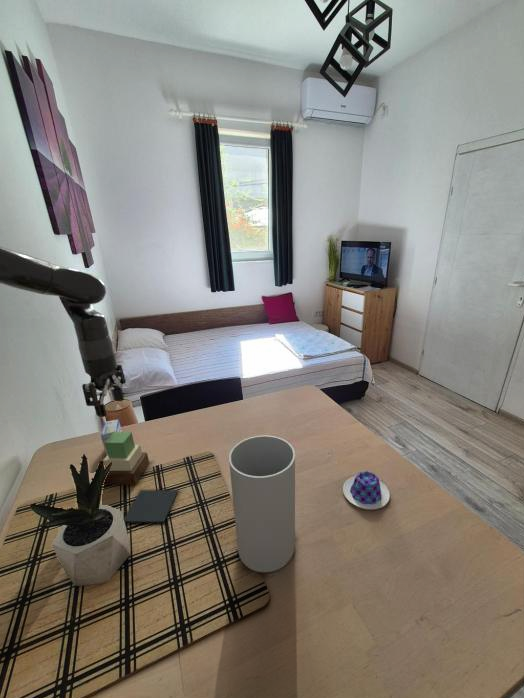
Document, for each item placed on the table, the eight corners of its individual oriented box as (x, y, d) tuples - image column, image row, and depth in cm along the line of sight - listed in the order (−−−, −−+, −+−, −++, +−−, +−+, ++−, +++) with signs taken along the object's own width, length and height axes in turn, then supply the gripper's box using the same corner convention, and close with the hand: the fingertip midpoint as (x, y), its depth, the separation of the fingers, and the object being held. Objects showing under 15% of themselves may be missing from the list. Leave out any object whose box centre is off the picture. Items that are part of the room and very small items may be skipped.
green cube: (108, 457, 88) (104, 442, 86) (117, 446, 93) (114, 431, 91) (126, 458, 88) (122, 442, 86) (135, 446, 93) (131, 432, 91)
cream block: (105, 470, 89) (102, 460, 87) (118, 454, 95) (116, 444, 94) (131, 470, 89) (128, 460, 87) (142, 454, 95) (140, 444, 94)
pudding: (333, 486, 88) (334, 471, 86) (368, 472, 93) (370, 457, 91) (362, 518, 78) (364, 502, 76) (399, 500, 83) (402, 484, 81)
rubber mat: (122, 522, 78) (122, 521, 77) (141, 491, 87) (140, 490, 87) (164, 523, 77) (163, 521, 77) (178, 492, 87) (177, 490, 86)
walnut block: (103, 484, 89) (100, 473, 88) (119, 463, 98) (117, 452, 96) (136, 484, 89) (133, 473, 88) (149, 463, 98) (147, 452, 96)
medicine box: (122, 455, 101) (116, 431, 98) (106, 458, 100) (100, 435, 96) (124, 441, 108) (118, 418, 104) (109, 444, 106) (103, 421, 103)
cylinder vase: (304, 537, 73) (306, 447, 64) (275, 586, 64) (271, 487, 54) (259, 515, 79) (254, 429, 70) (226, 556, 69) (214, 462, 60)
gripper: (100, 344, 90) (113, 395, 97) (64, 363, 77) (81, 421, 84) (126, 344, 90) (137, 396, 96) (94, 364, 77) (109, 422, 83)
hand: (111, 408), depth 90 cm, fingers open, 8 cm apart
